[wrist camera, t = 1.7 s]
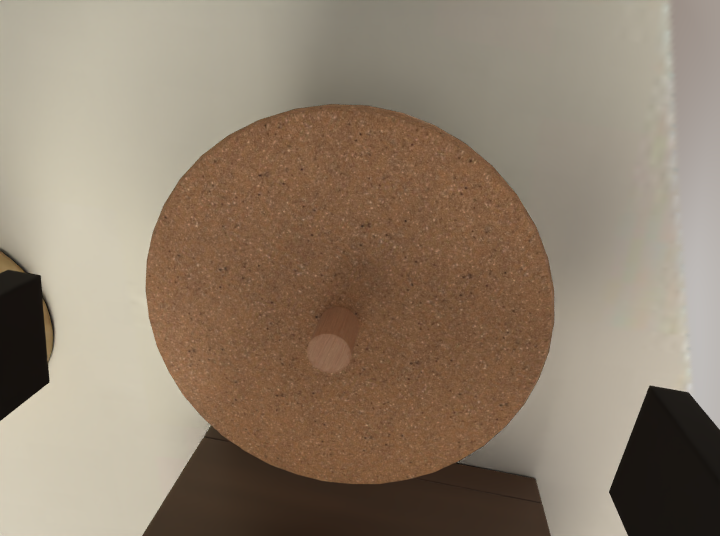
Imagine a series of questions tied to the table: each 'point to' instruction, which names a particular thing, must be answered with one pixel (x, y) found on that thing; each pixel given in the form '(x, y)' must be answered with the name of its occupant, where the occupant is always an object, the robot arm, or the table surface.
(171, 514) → the bookshelf
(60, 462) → the table surface
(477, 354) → the trinket box
